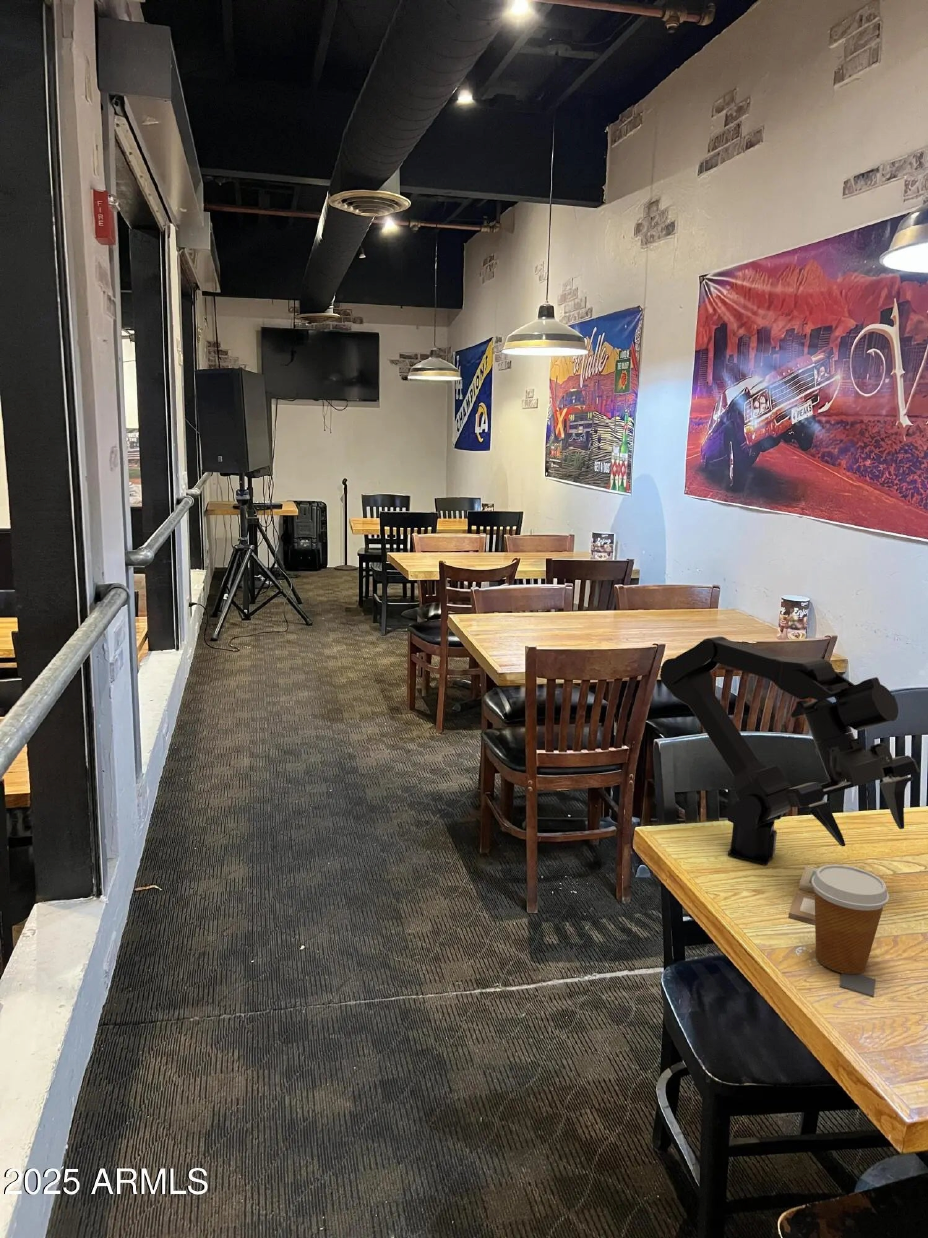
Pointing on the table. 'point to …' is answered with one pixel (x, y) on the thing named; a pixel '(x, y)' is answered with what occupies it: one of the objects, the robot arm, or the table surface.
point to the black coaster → (858, 983)
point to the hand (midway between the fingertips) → (872, 837)
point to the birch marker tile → (807, 879)
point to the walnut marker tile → (803, 908)
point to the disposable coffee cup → (846, 916)
